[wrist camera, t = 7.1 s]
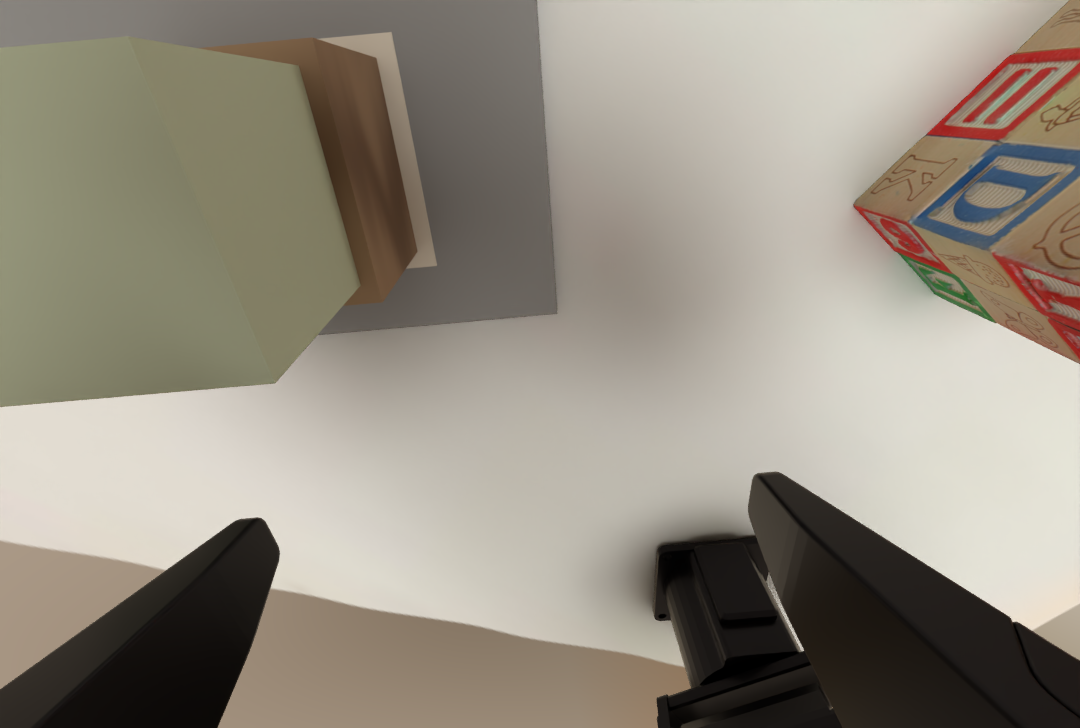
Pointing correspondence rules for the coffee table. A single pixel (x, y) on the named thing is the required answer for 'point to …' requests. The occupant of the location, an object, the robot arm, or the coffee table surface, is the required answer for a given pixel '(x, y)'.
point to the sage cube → (159, 221)
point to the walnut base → (353, 154)
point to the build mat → (399, 129)
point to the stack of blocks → (1000, 194)
